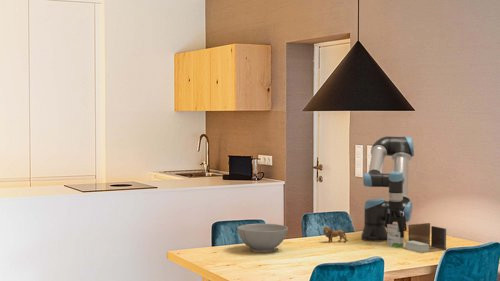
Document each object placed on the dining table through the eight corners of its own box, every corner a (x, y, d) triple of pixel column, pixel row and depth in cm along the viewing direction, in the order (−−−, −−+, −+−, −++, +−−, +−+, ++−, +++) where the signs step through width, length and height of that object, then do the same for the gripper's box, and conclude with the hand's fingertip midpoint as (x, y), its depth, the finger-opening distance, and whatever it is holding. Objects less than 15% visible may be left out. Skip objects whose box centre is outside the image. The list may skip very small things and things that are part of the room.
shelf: (400, 249, 386) (401, 225, 386) (428, 246, 395) (428, 222, 395) (421, 254, 372) (421, 229, 372) (449, 251, 381) (449, 227, 380)
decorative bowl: (228, 252, 379) (228, 229, 378) (250, 243, 403) (250, 222, 402) (275, 256, 367) (275, 233, 367) (295, 247, 391) (295, 225, 391)
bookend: (431, 246, 390) (431, 226, 390) (434, 246, 391) (434, 225, 391) (444, 249, 381) (444, 228, 381) (447, 249, 382) (447, 228, 382)
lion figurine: (324, 243, 404) (324, 227, 404) (321, 241, 410) (321, 226, 409) (349, 242, 408) (349, 226, 408) (345, 240, 413) (346, 225, 413)
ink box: (403, 247, 390) (404, 225, 389) (396, 248, 388) (396, 226, 387) (394, 244, 397) (394, 223, 397) (386, 245, 395) (386, 223, 395)
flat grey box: (404, 248, 383) (405, 241, 383) (413, 248, 386) (413, 240, 386) (420, 252, 372) (420, 245, 372) (428, 251, 375) (429, 244, 375)
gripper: (377, 198, 399) (377, 239, 400) (403, 203, 380) (402, 246, 381) (388, 197, 402) (388, 238, 404) (414, 202, 383) (413, 244, 385)
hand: (395, 241), depth 392 cm, fingers closed on ink box, 9 cm apart
